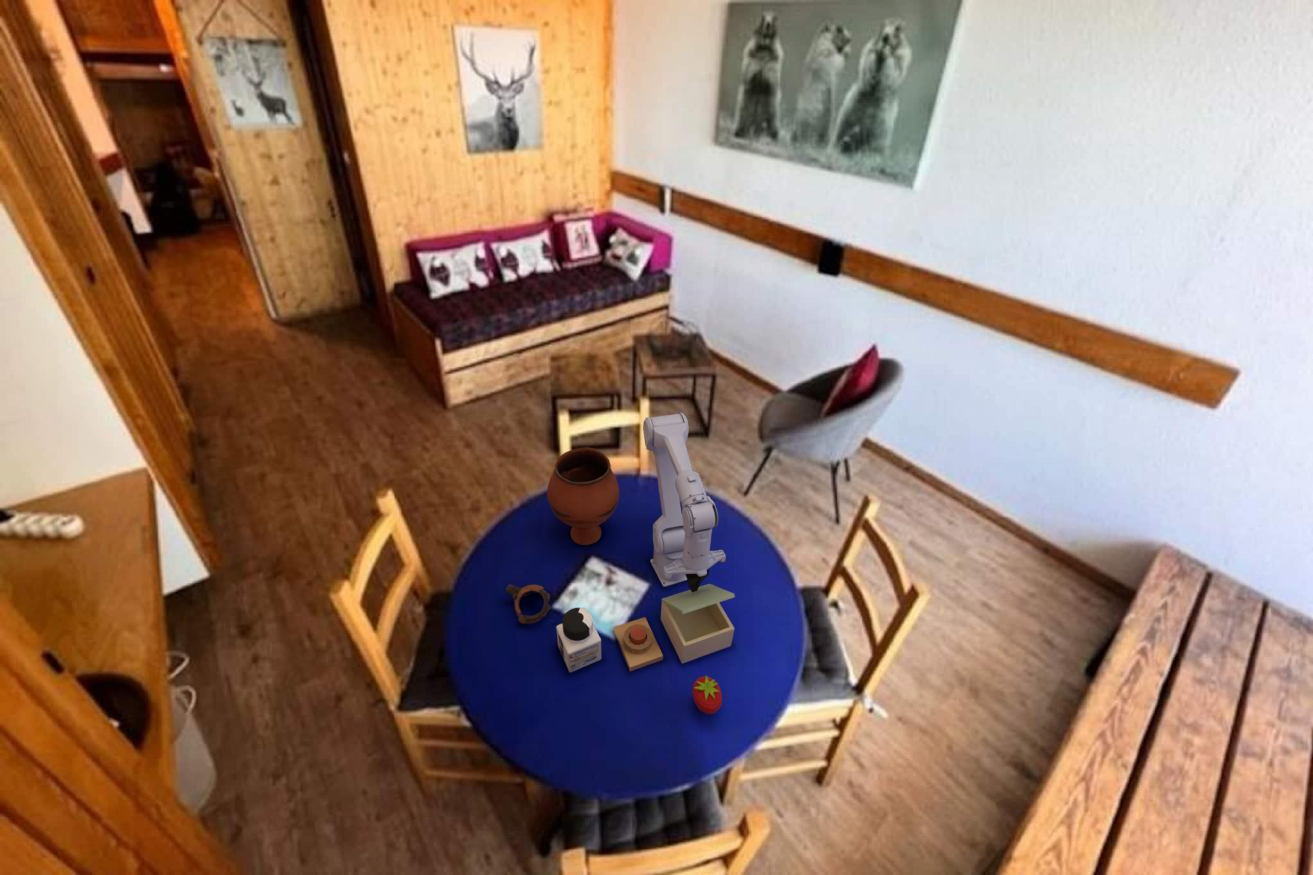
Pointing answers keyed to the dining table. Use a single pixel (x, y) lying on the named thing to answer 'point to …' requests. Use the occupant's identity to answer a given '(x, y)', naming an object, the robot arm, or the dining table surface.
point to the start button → (637, 635)
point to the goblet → (583, 492)
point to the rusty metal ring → (526, 590)
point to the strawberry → (707, 695)
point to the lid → (697, 598)
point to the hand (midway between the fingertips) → (692, 588)
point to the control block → (637, 645)
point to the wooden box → (697, 630)
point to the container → (578, 639)
